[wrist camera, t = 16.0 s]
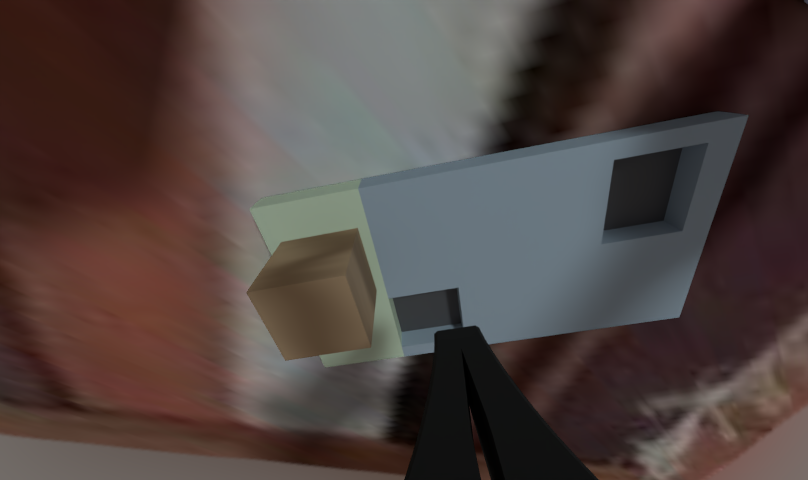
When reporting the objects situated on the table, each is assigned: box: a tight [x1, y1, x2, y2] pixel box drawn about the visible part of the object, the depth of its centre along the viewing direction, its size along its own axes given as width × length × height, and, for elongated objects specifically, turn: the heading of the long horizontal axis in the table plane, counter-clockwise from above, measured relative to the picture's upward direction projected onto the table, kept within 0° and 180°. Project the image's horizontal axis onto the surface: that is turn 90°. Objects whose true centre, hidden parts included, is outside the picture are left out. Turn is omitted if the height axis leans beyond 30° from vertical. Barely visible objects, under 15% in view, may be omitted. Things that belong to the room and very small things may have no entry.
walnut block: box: [246, 228, 377, 361], centre depth 16 cm, size 4×4×4 cm
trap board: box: [250, 111, 749, 368], centre depth 19 cm, size 25×13×2 cm, turn 101°
